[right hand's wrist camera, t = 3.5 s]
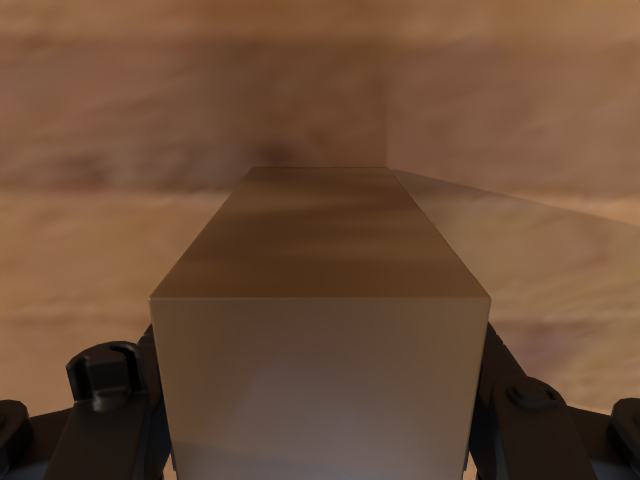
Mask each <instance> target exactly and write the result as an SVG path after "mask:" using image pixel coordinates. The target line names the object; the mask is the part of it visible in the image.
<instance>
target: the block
mask: <svg viewBox="0 0 640 480" xmlns="http://www.w3.org/2000/svg"><path fill="white" fill-rule="evenodd" d="M148 302H149V308H150V314H151V320H152V327H153V333H154V339H155V345H156V351H157V357H158V364H159V370H160V376H161V382H162V388H163V394H164V401H165V407H166V413H167V419H168V425H169V431H170V438H171V444H172V450H173V456H174V462H175V468H176V475H177V480H462V478H463V472H464V466H465V460H466V453H467V447H468V441H469V435H470V429H471V423H472V416H473V410H474V404H475V398H476V392H477V385H478V379H479V373H480V367H481V361H482V354H483V348H484V342H485V336H486V330H487V324H488V317H489V311H490V305H491V297H490V296H489V295H488V293H487V292H486V291H485V290H484V288H483V287H482V286H481V285H480V283H479V282H478V281H477V280H476V278H475V277H474V276H473V274H472V273H471V272H470V271H469V269H468V268H467V267H466V266H465V264H464V263H463V262H462V261H461V259H460V258H459V257H458V256H457V254H456V253H455V252H454V251H453V249H452V248H451V247H450V246H449V244H448V243H447V242H446V241H445V239H444V238H443V237H442V236H441V234H440V233H439V232H438V231H437V229H436V228H435V227H434V225H433V224H432V223H431V222H430V220H429V219H428V218H427V217H426V215H425V214H424V213H423V212H422V210H421V209H420V208H419V207H418V205H417V204H416V203H415V202H414V200H413V199H412V198H411V197H410V195H409V194H408V193H407V192H406V190H405V189H404V188H403V187H402V185H401V184H400V183H399V181H398V180H397V179H396V178H395V176H394V175H393V174H392V173H391V171H390V170H389V169H388V168H252V169H251V170H250V171H249V172H248V174H247V175H246V176H245V177H244V179H243V180H242V181H241V182H240V184H239V185H238V186H237V187H236V189H235V190H234V191H233V192H232V194H231V195H230V196H229V197H228V199H227V200H226V201H225V202H224V204H223V205H222V206H221V208H220V209H219V210H218V211H217V213H216V214H215V215H214V216H213V218H212V219H211V220H210V221H209V223H208V224H207V225H206V226H205V228H204V229H203V230H202V231H201V233H200V234H199V235H198V236H197V238H196V239H195V240H194V241H193V243H192V244H191V245H190V246H189V248H188V249H187V250H186V251H185V253H184V254H183V255H182V256H181V258H180V259H179V260H178V261H177V263H176V264H175V265H174V266H173V268H172V269H171V270H170V271H169V273H168V274H167V275H166V276H165V278H164V279H163V280H162V281H161V283H160V284H159V285H158V286H157V288H156V289H155V290H154V291H153V293H152V294H151V295H150V296H149V299H148Z"/></svg>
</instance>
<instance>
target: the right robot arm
mask: <svg viewBox="0 0 640 480" xmlns="http://www.w3.org/2000/svg"><path fill="white" fill-rule="evenodd" d="M66 370H67V374H68V378H69V382H70V386H71V390H72V394H73V397H74V401H75V403H74V406H73V407H72V408H69V409H65V410H62V411H57V412H53V413H48V414H43V415H39V416H34V417H29V414H28V411H27V407H26V406H25V405H24V404H22V403H21V402H20V401H15V400H1V401H0V480H164V474H163V469H164V467H165V464H166V462H167V459H168V457H169V455H170V452H171V458H172V464H173V470H174V471H176V468H175V462H174V456H173V450H172V444H171V438H170V431H169V425H168V419H167V413H166V407H165V401H164V394H163V388H162V382H161V376H160V370H159V364H158V357H157V351H156V345H155V339H154V333H153V327H152V323H151V324H150V326H149V327H148V329H147V330H146V331H145V333H144V336H142V337H141V339H140V340H139V341H138V343H137V345H136V344H135V343H131V342H127V341H112V342H107V343H103V344H98V345H96V346H93V347H91V348H88V349H86V350H84V351H82V352H81V353H79V354H78V355H76V356H75V357H73V358H72V359H71V361H70V362H69V363H68V364H67V365H66ZM469 451H470V453H471V456H472V458H473V460H474V463H475V465H476V468H477V474H476V480H640V399H639V398H626V399H620V400H619V401H618V402H617V403H615V404H614V406H613V410H612V413H611V416H609V415H605V414H600V413H596V412H591V411H587V410H582V409H578V408H574V407H571V406H567V405H566V402H565V401H564V399H563V398H562V397H561V395H560V394H559V393H558V392H557V391H556V390H555V389H553V388H552V387H551V386H549V385H548V384H546V383H544V382H542V381H540V380H538V379H536V378H532V377H528V376H527V375H526V374H525V373H524V371H523V370H522V368H521V367H520V366H519V364H518V363H517V361H516V360H515V358H514V357H513V356H512V354H511V353H510V351H509V350H508V349H507V347H506V346H505V345H503V341H502V340H501V339H500V337H499V336H498V335H496V332H495V330H494V329H493V327H492V326H491V324H490V323H489V322H488V324H487V330H486V336H485V342H484V348H483V354H482V361H481V367H480V373H479V379H478V385H477V392H476V398H475V404H474V410H473V416H472V423H471V429H470V435H469V441H468V447H467V453H466V460H465V466H464V471H466V468H467V462H468V456H469Z"/></svg>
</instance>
